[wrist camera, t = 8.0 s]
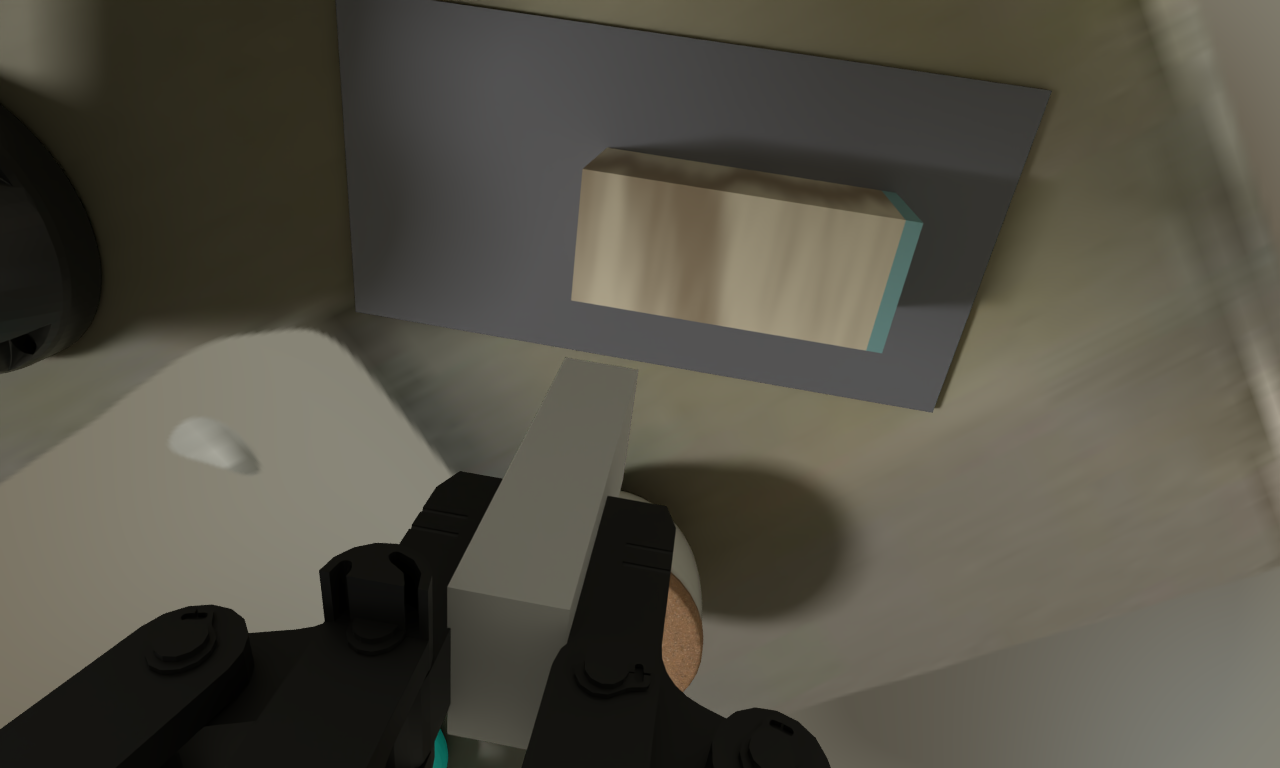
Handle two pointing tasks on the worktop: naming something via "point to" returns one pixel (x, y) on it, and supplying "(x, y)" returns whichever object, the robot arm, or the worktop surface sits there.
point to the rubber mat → (659, 125)
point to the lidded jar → (681, 612)
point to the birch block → (742, 248)
